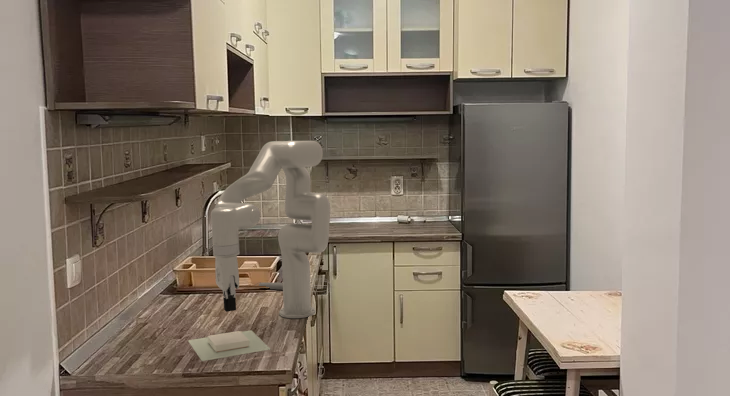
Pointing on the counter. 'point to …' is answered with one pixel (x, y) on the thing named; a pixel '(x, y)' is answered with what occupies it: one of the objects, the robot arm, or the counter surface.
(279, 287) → the kitchen whisk
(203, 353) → the mat
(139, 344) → the counter surface
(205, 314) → the counter surface
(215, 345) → the tile
